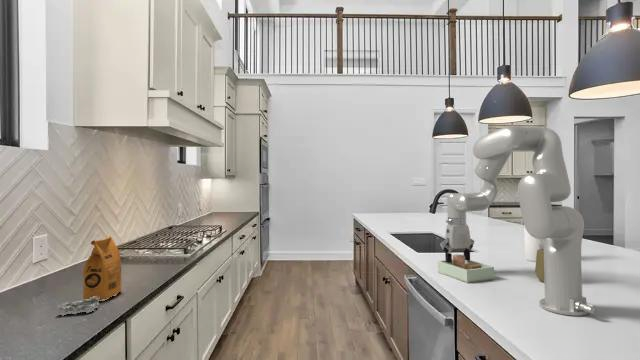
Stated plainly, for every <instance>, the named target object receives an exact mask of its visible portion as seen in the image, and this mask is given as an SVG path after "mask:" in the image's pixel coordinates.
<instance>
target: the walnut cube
mask: <svg viewBox="0 0 640 360" xmlns="http://www.w3.org/2000/svg"><path fill="white" fill-rule="evenodd" d="M477 268H481V265H479V264H475V263H465V264H463V269H466V270H469V269H477Z"/></svg>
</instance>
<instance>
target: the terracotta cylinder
mask: <svg viewBox="0 0 640 360" xmlns="http://www.w3.org/2000/svg"><path fill="white" fill-rule="evenodd" d="M452 259H453V265H454V266H457V267H460V268H463V264H465V256H464V254H453V255H452Z"/></svg>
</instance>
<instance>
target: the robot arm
mask: <svg viewBox="0 0 640 360" xmlns="http://www.w3.org/2000/svg"><path fill="white" fill-rule="evenodd" d="M561 140H562V139H561V138H560V136H559V134H558V133H557V132H556V131H554V130H553V129H550V128H547V127H543V126H542V127H539V126H527V125H526V126H525V125H523V126H522V125H521V126H520V125H510V126H505V127H502V128H499V129H496V130H494V131H492V132H490V133H487V134H485V135H483V136H480V137H479V138H478V139H477V140H476V141H475V143H474V145H473V147H472V152H473V156H474V157H475V158H476V159H478V160H479V161H478V163H477V164H476V167H475V168H474V173H475V175H476V177H478V178H479V179H481V180H483V185H482V187H481V189H480V190H479V192H469V193H466V192H465V193H462V192H457V193H456V192H452V193H451V192H450V193H449V194H447V197H446V203H447V204H446V207H447V208H446V209H447V219H446V221H445V223H447V224H446V229H445V239H444V240H443V241H441V242H440V243H439V246H440V247H441V249H442V251H443V252H444V255H445V260H446V262H449V263H452V259H453V255H452V253H451V252H452V251H453V250H460V249H463V255H464V256H465V260H468V261H470V260H471V251H472V248H473V247H474V244H475V240H474V239H472V238H471V234H470V233H471V232H470V227H469V225H468V224H467V212H468V213H469V212H477V211H478V212H479V211H485V210H487V209H488V208H489V207H490V206H491V205H492V203H493V202H494V200H495V199H496V197H497V194H498V191H499V190H498V189H499V188H498V187H499V186H498V185H499V184H498V181H497V179H498V177H499V175H500V174H501V171H502V170H503V168H504V167H505V165H506V163H507V162H508V160H509V159H510V157H511V156H512V153H513V152H518V153H519V152H521V153H522V152H523V153H524V152H525V153H526V152H527V153H528V152H531V153H532V152H533V157H532V167H533V172H531V173H527V174H525V175H524V176H523V177H521V178H520V180H519V182H518V183H517V185H518V186H517V197H518V201H519V207H520V208H519V209H520V211H521V218H522V222H523V227H524V226H525V228H526V230H527V232H528V233H529V234H530V235H531V236H532V237H534V238H537V239H546V241H545V245H544V282H543V283H544V298H541V299H540V300H539V305H538V306H540V307H541V308H542V309H544V310H546V311H549V312H551V313H555V314H559V315H560V314H561V315H565V316H572V317H574V316H576V317H577V316H578V317H579V316H580V317H581V316H586V315H589V313H590V314H594V313H595V312H596V304H592V303H588V301H587V297H586V296H583V276H582V274H583V273H582V272H583V271H582V243H583V235H584V230H585V221H584V217H583V215H582V213H580V212H579V211H578V210H577V209H575V208H574V207H571V206H566V205H565V206H564V205H559V206H552V203H559V202H563V201H565V200H567V199H569V197H570V195H571V194H572V193H571V191H572V189H571V183H570V179H569V175H568V171H567V167H566V163H565V159H564V154H563V153H564V152H563V146H562V141H561Z"/></svg>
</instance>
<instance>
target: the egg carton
mask: <svg viewBox="0 0 640 360" xmlns="http://www.w3.org/2000/svg"><path fill="white" fill-rule="evenodd" d="M99 298H100V296H95V297H94V296H93V297H90V299H85V300H84V299H83V300H77V301H72V302H63V303H61V304H58V306H57V308H58V314H59V313H66V312H68V311H73V312H77V311H80V310H85V311H89V310H92V309H95V306H97V305H99V306H100V302H99V301H98V299H99ZM81 305H84V306H81ZM95 310H96V309H95Z"/></svg>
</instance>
